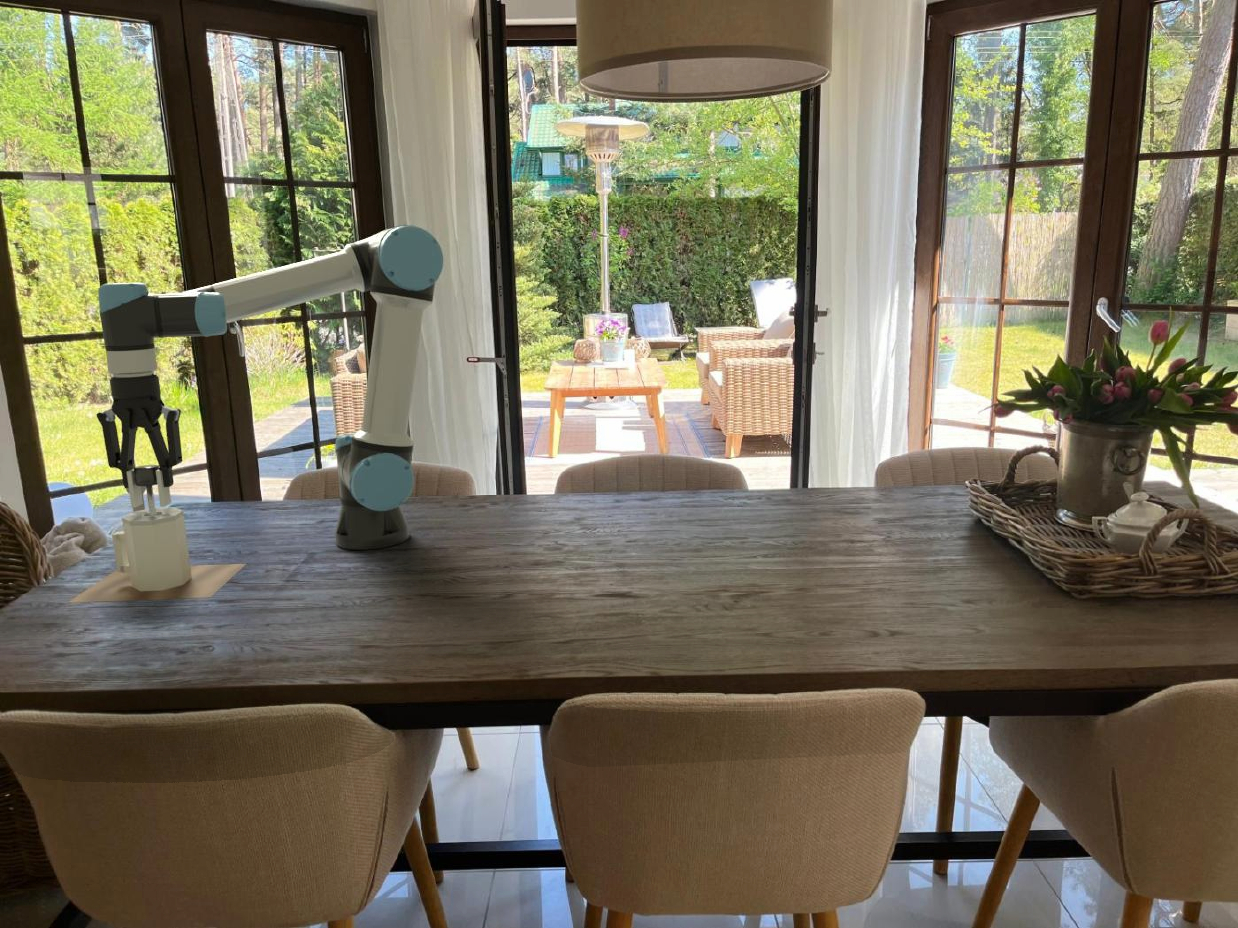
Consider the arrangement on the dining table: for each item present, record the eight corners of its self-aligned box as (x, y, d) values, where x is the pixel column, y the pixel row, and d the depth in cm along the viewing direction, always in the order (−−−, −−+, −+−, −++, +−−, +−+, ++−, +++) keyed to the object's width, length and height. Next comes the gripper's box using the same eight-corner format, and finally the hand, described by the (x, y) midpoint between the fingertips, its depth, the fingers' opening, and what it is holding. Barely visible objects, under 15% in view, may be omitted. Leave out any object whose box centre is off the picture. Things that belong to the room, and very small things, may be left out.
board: (247, 571, 174) (246, 563, 174) (211, 605, 157) (210, 597, 156) (119, 575, 173) (118, 568, 173) (68, 610, 156) (67, 602, 155)
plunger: (177, 570, 166) (163, 464, 162) (167, 578, 162) (153, 469, 158) (154, 571, 166) (140, 465, 162) (144, 579, 162) (129, 470, 158)
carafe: (197, 572, 169) (189, 506, 166) (177, 589, 160) (167, 520, 158) (133, 575, 169) (124, 508, 166) (109, 592, 160) (99, 522, 157)
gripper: (193, 370, 160) (209, 498, 165) (93, 372, 160) (112, 501, 165) (175, 375, 153) (192, 509, 158) (70, 378, 152) (90, 512, 157)
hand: (151, 504), depth 161 cm, fingers open, 4 cm apart
